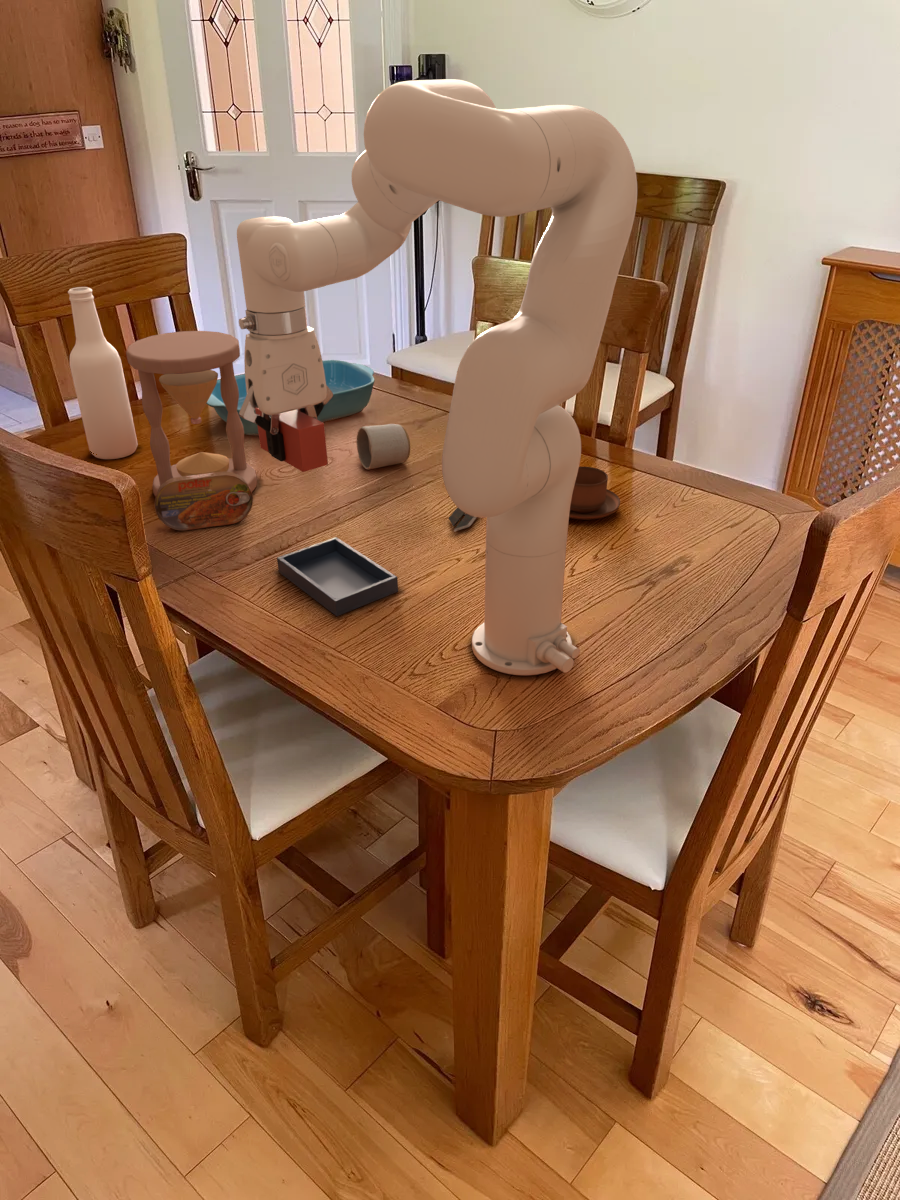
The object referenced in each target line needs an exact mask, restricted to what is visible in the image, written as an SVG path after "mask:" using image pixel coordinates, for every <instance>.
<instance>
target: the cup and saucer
mask: <svg viewBox="0 0 900 1200" xmlns="http://www.w3.org/2000/svg"><path fill="white" fill-rule="evenodd" d="M608 478H609V476H608V474H607V472H606V471H604V470H602V469H600V468H597V467H593V466H579V469H578V473H577V477H576V481H575V485H574V489H573V494H572V499H571V505H570V513H569V519H572V520H573V519H574V520H581V521H582V520H583V521H589V520H590V521H591V520H599V519H602V518H603V519H604V518H606V517H608V516H610V515H612V514H613V513H615V512H617V510H618V509H619V507H620V505H621V499H620V497H619V496H618V494H616V493H615V492H613V491H611V489H608V480H609V479H608Z"/></svg>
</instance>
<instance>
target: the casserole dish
mask: <svg viewBox="0 0 900 1200" xmlns="http://www.w3.org/2000/svg"><path fill="white" fill-rule="evenodd" d="M322 362H323V367H324V373H325V380H326V385H327V386H328V387H329V389H330V390H331V391H332V393H333V397H332V398H331V399H330V400H329V402H328V403H327V404H326V405H324V408H323V409H322V411H321V413H320V414H319V416H318V417H317V418H318V420H319V421H321V422H323V423H324V422H329V421H333V420H337V419H341V418H342V419H343V418H346V417H349V416H353V415H355V414H358V413H360V412H361V411H363V409H365V408H366V407H367V405H368V404H369V402H370V400H371V397H372V393H373V388H374V384H375V377H374V374H375V371H374V370H373V368H371V367H369V366H367V365H365V364H362V363H356V362H348V361H346V360H341V359H340V360H339V359H324V360H323V359H322ZM234 376H235V379H236V382H237V386H238V391H239V400H238V407H237V412H238V415H239V412H240V410H241V407H242V405H243V402H244V400H245V398H246V395H247V391H246V382H245V373H243V374H238V375H234ZM220 380H221V378H219V379H217V384H216V386H215V388H214V390H213V392H212V394H211V396H210V398H209V399H208V401H207V403H206V405H207V406H209V407H211V408H213V409H214V411H215V412H216V414H217V416H218V417H219V418H220V419H221V420H223V422H225V424H227V416H228V411H227V409H226V406H225V404H224V402H223V399H222V397H221V390H220ZM297 410H298V409H297ZM254 412H255V413H256V411H255V410H254ZM239 417H240V415H239ZM240 419H241V422H242V424H243V428H244V435H246V436H259V433H258V426H257V424H255V423H253V422H250V421H248V420H246V419H244V418H242V417H240Z"/></svg>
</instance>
